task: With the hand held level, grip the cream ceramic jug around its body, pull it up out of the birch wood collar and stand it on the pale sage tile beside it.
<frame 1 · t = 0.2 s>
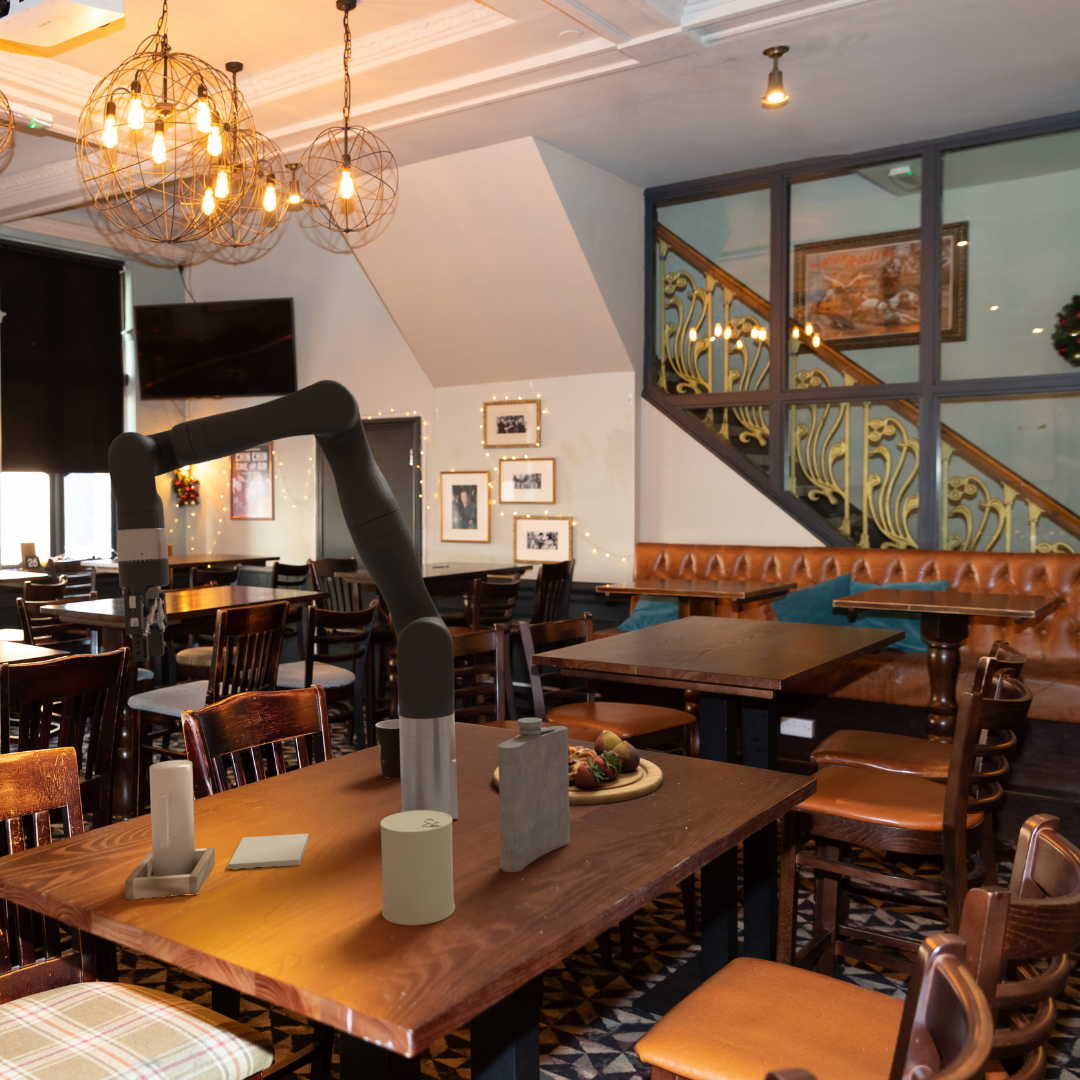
hand: (149, 658, 157), 28 cm above the table, tool pointing down, fingers open, 8 cm apart
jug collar: (174, 878, 137), on the table
coffee mug: (401, 773, 193), on the table
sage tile: (270, 853, 147), on the table
hip flask: (534, 855, 144), on the table
cream jug: (170, 824, 136), in the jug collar
wooden plate with food: (577, 783, 184), on the table
can: (418, 912, 124), on the table
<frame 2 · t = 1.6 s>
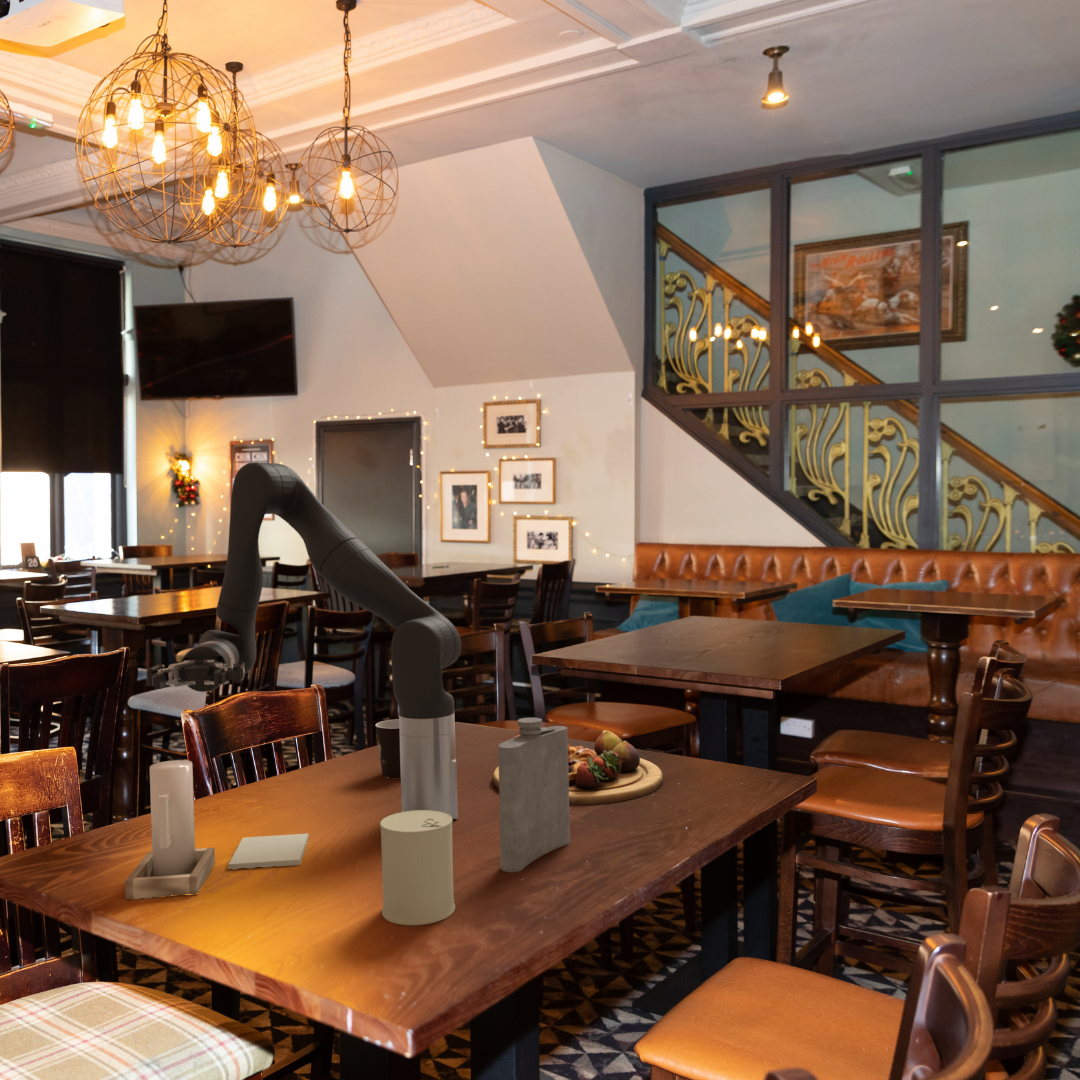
hand: (187, 681, 148), 26 cm above the table, tool horizontal, fingers open, 8 cm apart
nothing on the table moved.
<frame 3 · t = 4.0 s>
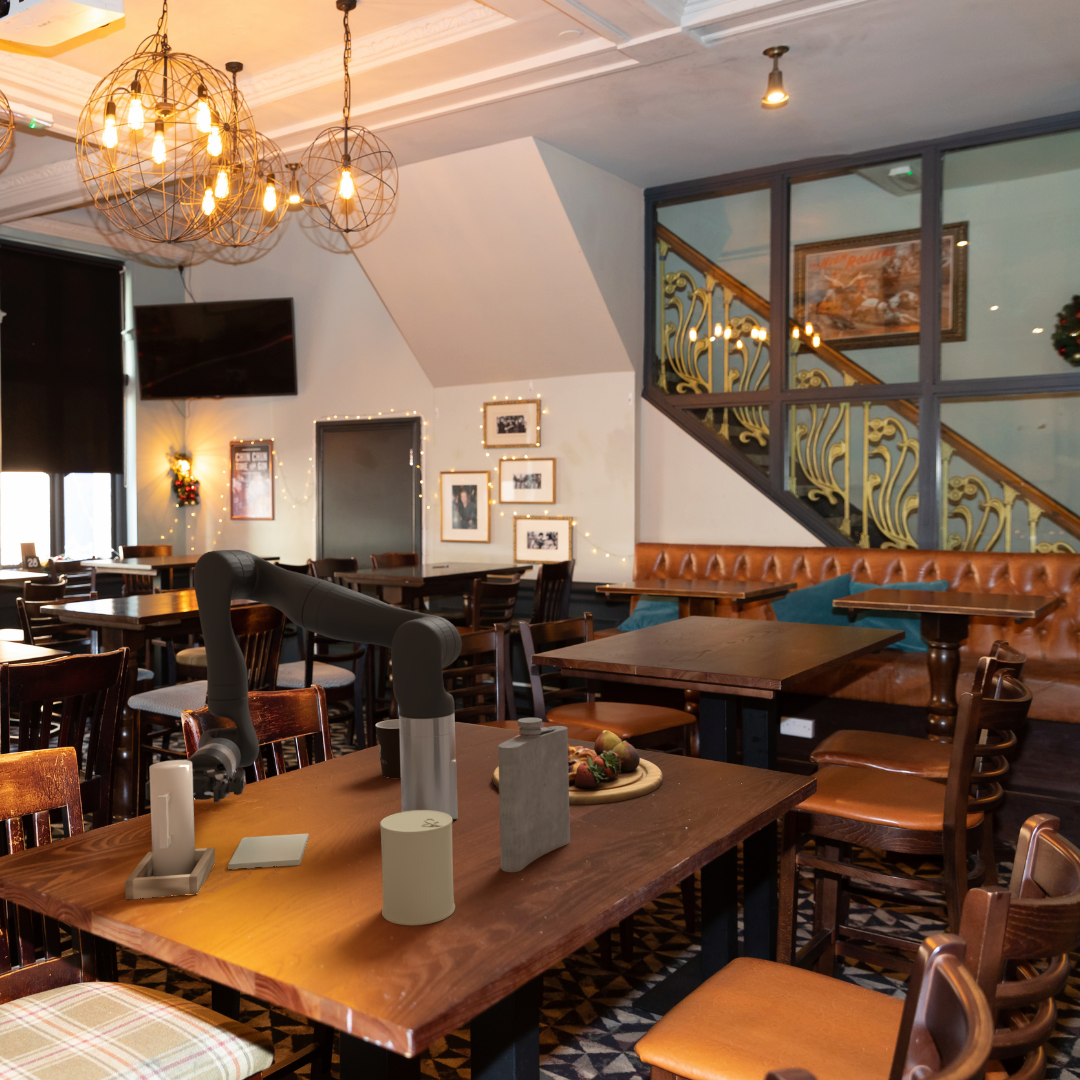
hand: (186, 797, 146), 9 cm above the table, tool horizontal, fingers open, 8 cm apart
nothing on the table moved.
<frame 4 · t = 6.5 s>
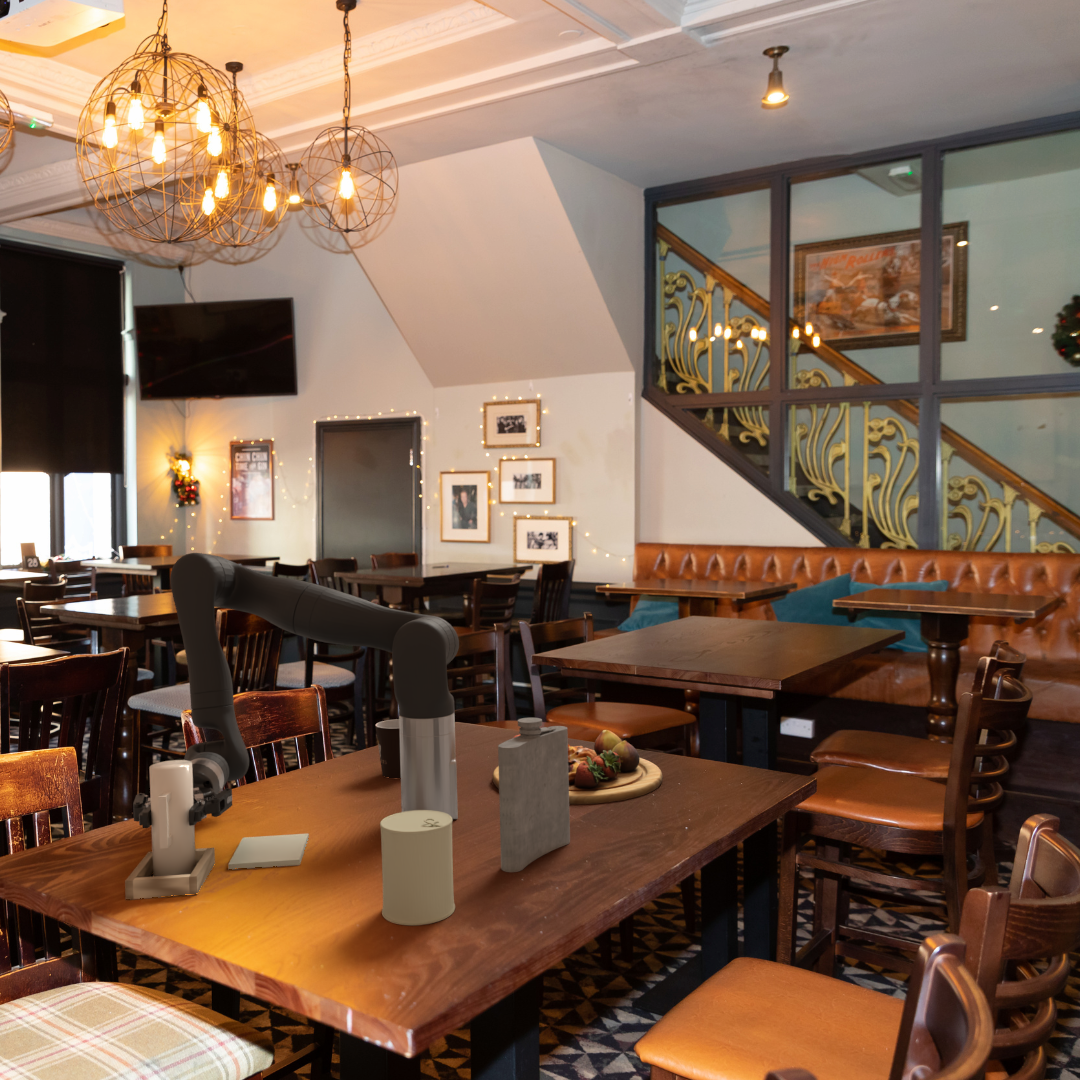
hand: (168, 819, 135), 9 cm above the table, tool horizontal, fingers closed on cream jug, 5 cm apart
cream jug: (170, 824, 136), in the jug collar, touching gripper
everything else where it was.
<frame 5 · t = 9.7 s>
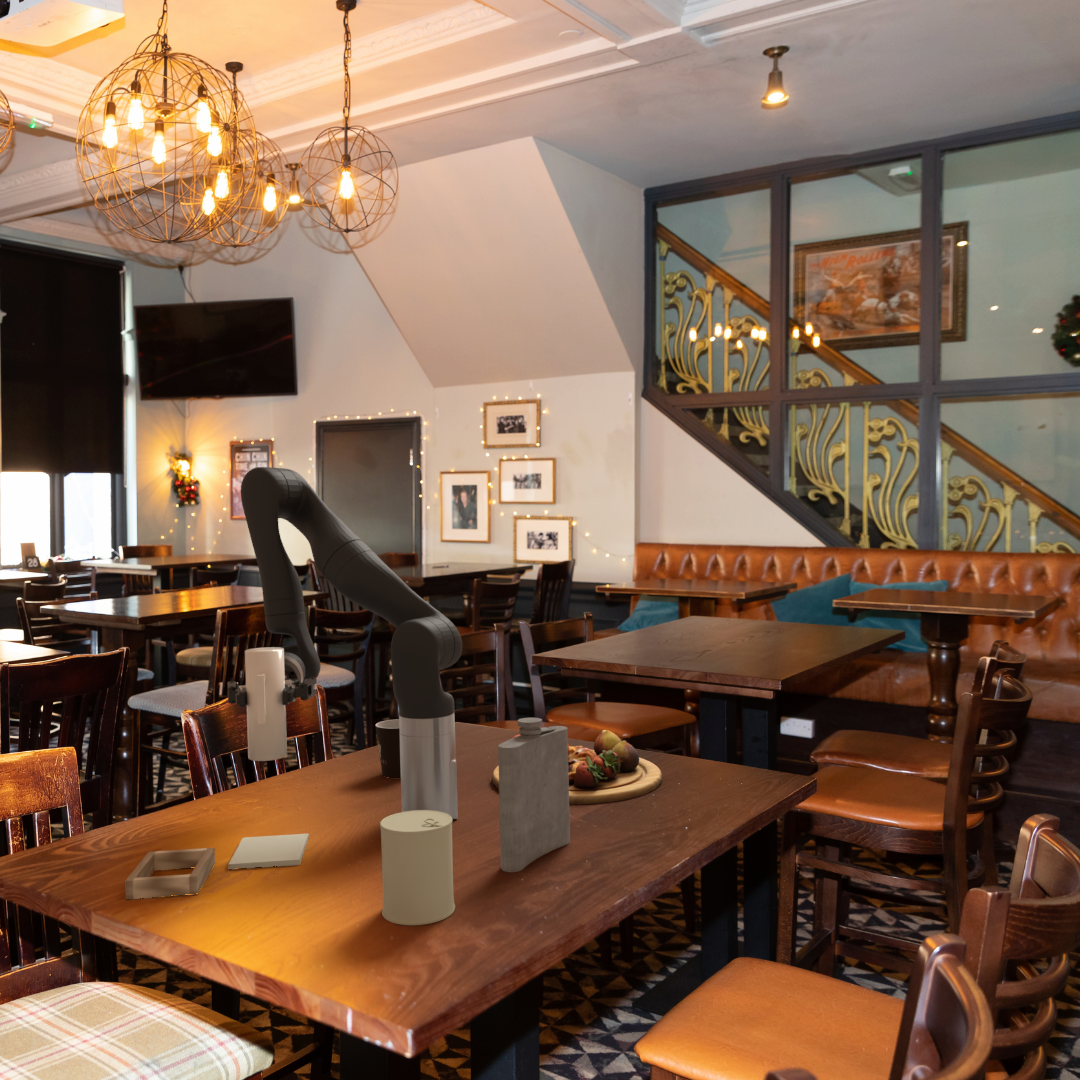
hand: (263, 699, 144), 24 cm above the table, tool horizontal, fingers closed on cream jug, 5 cm apart
cream jug: (264, 704, 145), point 23 cm above the table, touching gripper
everything else where it was.
when the fingers open (11 cm above the table, at t = 13.0 s): cream jug drops 1 cm, resting on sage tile.
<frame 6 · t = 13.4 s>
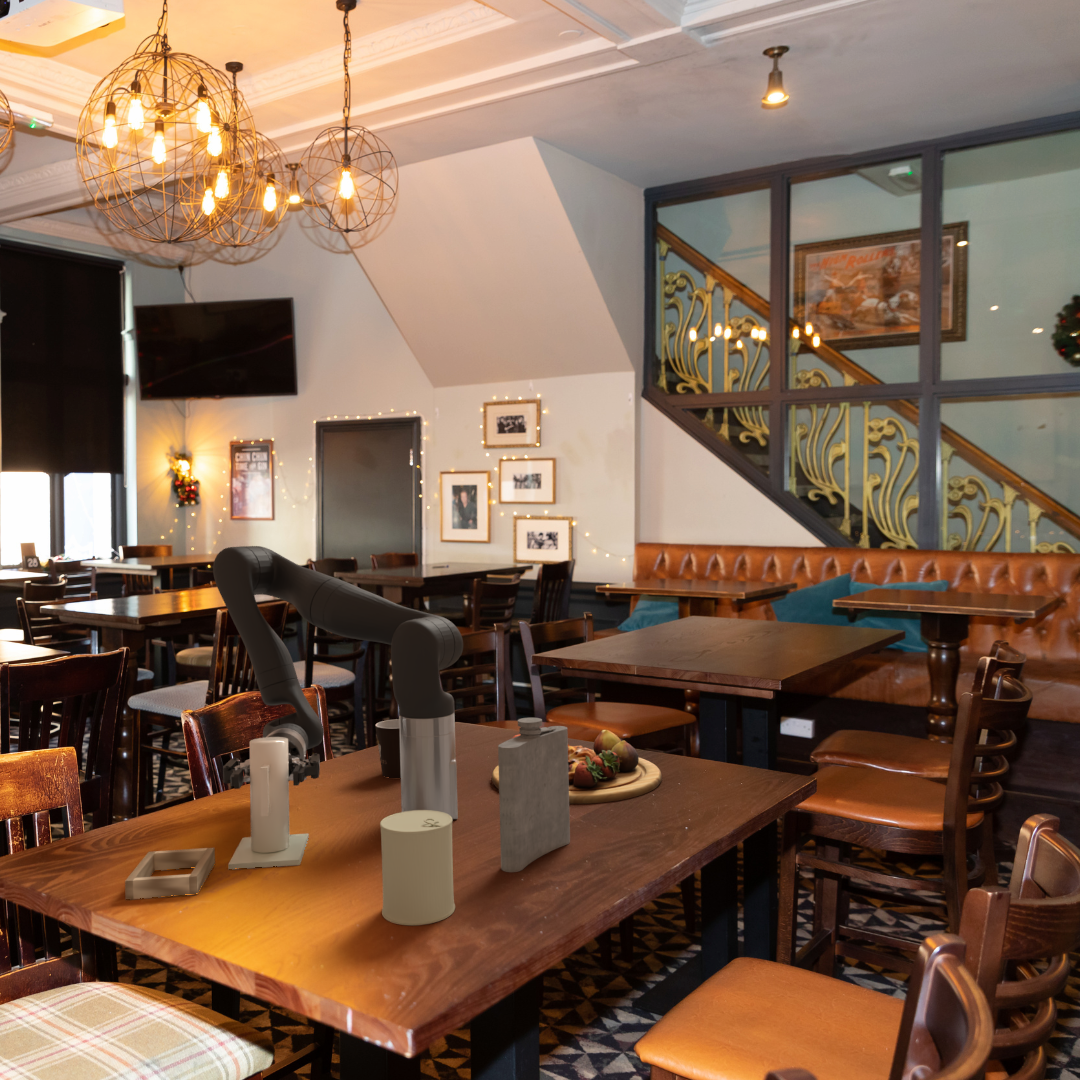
hand: (266, 780, 145), 12 cm above the table, tool horizontal, fingers open, 8 cm apart
cream jug: (268, 795, 146), on the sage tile, point 9 cm above the table
everything else where it was.
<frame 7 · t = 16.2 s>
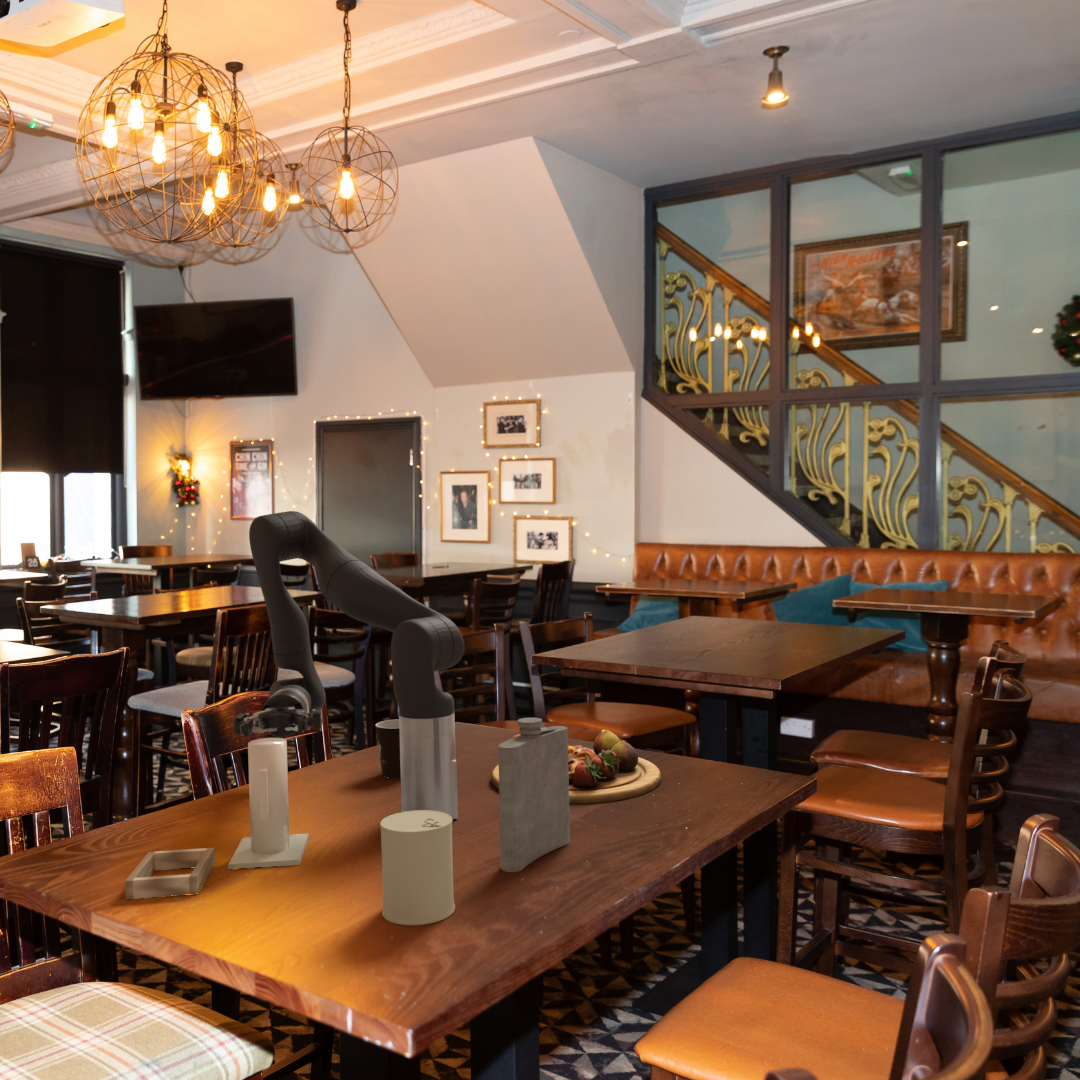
hand: (273, 728, 158), 16 cm above the table, tool horizontal, fingers open, 8 cm apart
nothing on the table moved.
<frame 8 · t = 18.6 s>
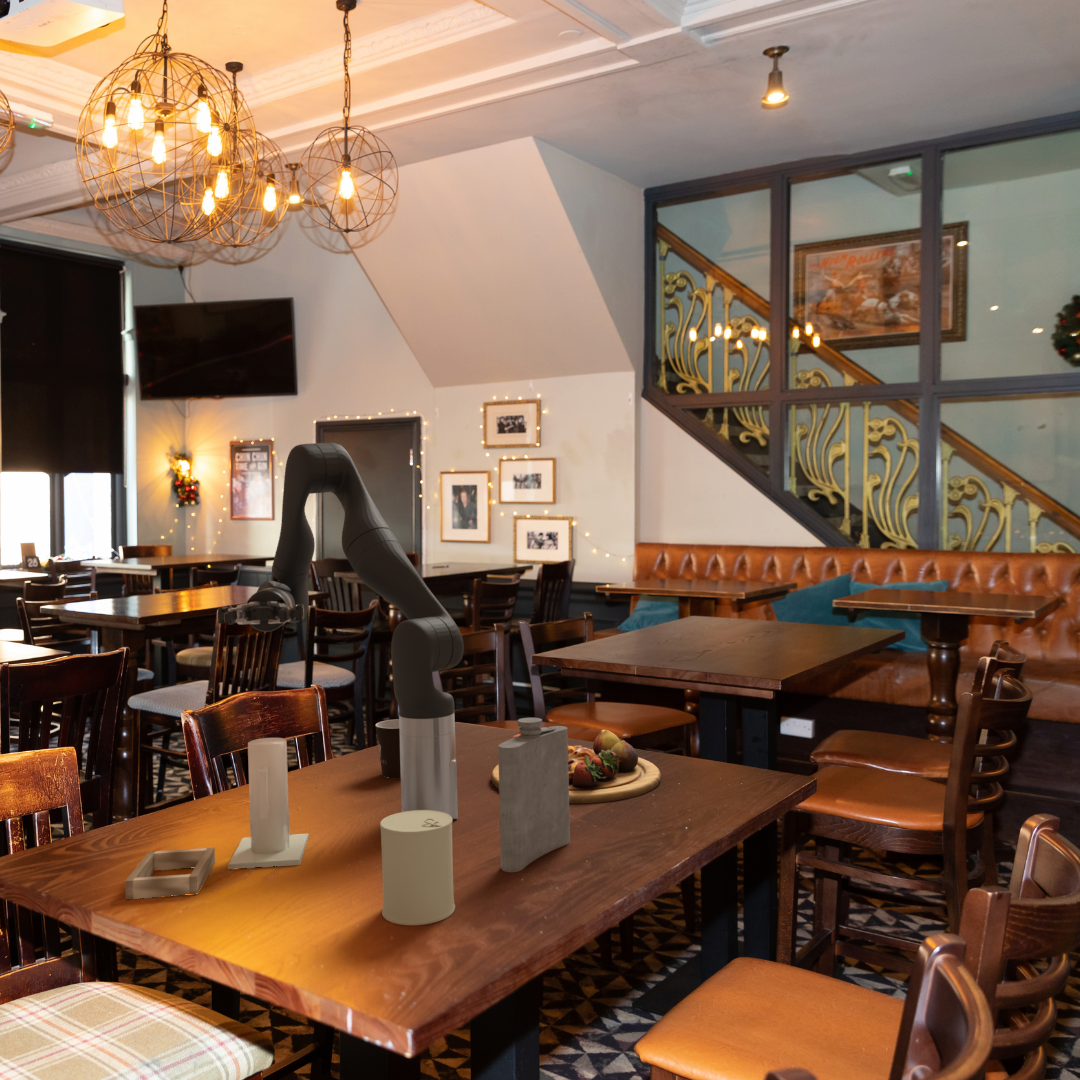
hand: (255, 617, 164), 34 cm above the table, tool horizontal, fingers open, 8 cm apart
nothing on the table moved.
at the end: cream jug inside the target area on the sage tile (0.2 cm from its centre), point 8.8 cm above the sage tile's base; cream jug tilted 0°; the gripper is holding nothing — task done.
